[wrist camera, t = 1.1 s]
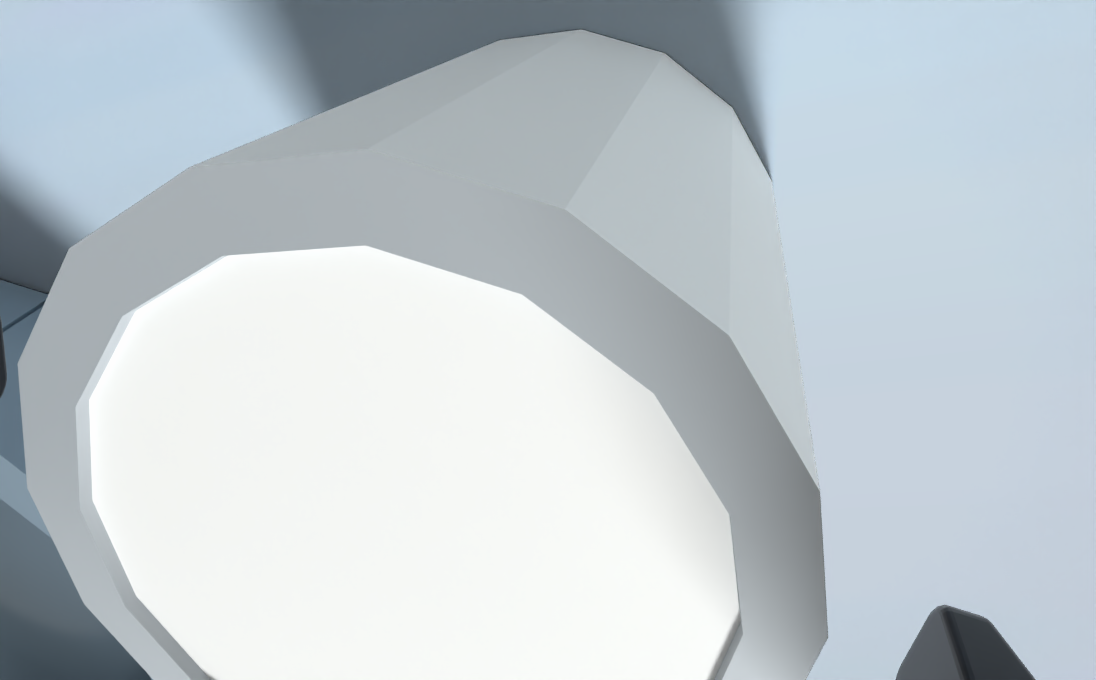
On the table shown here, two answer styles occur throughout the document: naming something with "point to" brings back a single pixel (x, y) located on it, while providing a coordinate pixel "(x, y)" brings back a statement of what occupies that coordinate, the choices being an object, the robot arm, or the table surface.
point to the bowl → (40, 551)
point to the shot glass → (444, 392)
